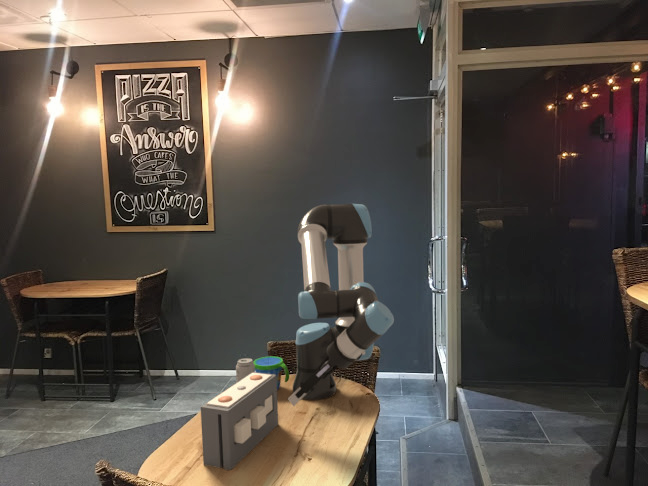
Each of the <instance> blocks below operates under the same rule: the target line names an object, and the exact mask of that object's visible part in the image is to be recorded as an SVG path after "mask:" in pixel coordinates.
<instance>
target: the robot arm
mask: <svg viewBox="0 0 648 486" xmlns="http://www.w3.org/2000/svg"><path fill="white" fill-rule="evenodd" d="M372 229H373V228H372V220H371V216H370V212H369V210H368V208H367V206H366V205H365V204H361V203H360V204H359V203H345V204H320V205H317V206H314V207H313V208H311V209H310V210H309V211H307V212H306V213H305V214H304V216H303V217H302V219H301V220H300V221H299V224H298V228H297V239H298V242H299V243H300V244H301V257H302V259H301V260H302V273H303V274H302V275H303V290H304V291H300V292H299V293H298V294H297V295H298V296H297V300H298V301H297V302H298V316H299V317H300V319H303V320H307V319H308V320H317V319H334V318H335V319H337V320H335V324H334V325H335V326H334V327H331V326H330V324H329V323H327V322H314V323H309V324H305V325H302V326H301V327H299V328H298V329H297V330H296V334H295V335H296V336H295V337H296V339H295V345H296V373H295V377H294V379H293V383H292V394H290V396H289V397H288V398H287V400H288V401H289V403H290V404H291V405H292V406H293V407H295V406H296V405H297V404H298V403H299V402H300V401H301V400H302V399H303V400H309V401H310V400H311V401H315V400H316V401H319V400H324V399H327V398H331V397H332V396H334V395H335V394H336V393H335V392H337V384H336V381H335V377H334V375H333V373H334V372H335V371H336V370H337V369H338V368H340V369H343V370H345V369H347V368H348V367H350V366H351V365H352V364H354V362H355V361H356V362H359V361H364V360H368V359H370V358H371V357H372V354H373V351H374V345H375V342H376V341H378V339H380V338H381V337H382V336H383V335H384V334H385V333H386V332H387V331H388V330H389V329H390V327H391V326H392V325H393V324H394V321H395V319H394V318H395V317H394V315H393V313H392V312H391V310H390V308H388V307H387V306H386V304H384V303H382V302H381V301H379V300H378V295H377V293H376V290H375V288H374V287H373V286H372V285H371V284H370V283H368V282H364V247H365V246H366V245H367V244H368V239H369V238H370V239H371V237H372V234H373V233H372V232H373V231H372ZM327 240H332V241H333V242H332V244H333V245H334V246H335V247H336V248H337V264H338V265H337V267H338V268H337V269H338V271H337V272H338V289H337V290H331V289H332V288H331V282H330V281H331V280H330V272H329V266H328V257H327V256H328V255H327V248H326V241H327ZM334 393H335V394H334ZM333 394H334V395H333Z"/></svg>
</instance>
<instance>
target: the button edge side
mask: <svg viewBox="0 0 648 486" xmlns="http://www.w3.org/2000/svg"><path fill="white" fill-rule="evenodd" d="M250 436H251V419H246V418H241V419H240V420H239V421H237V422H236V423H235V424H234V442H236V443H242V444H243V443H244V442H245V441H246V440H247V439H248V438H249V437H250Z"/></svg>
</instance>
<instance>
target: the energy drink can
mask: <svg viewBox="0 0 648 486" xmlns="http://www.w3.org/2000/svg"><path fill="white" fill-rule="evenodd" d="M253 362H254V361H253V359H252V358H249V357H244V358H240V359H238V360H237V362H236V363H237V364H236V365H235V372H236V383H237V382H238V381H240V380H241V379H243V378H244V377H246V376H247V375H249V374H250V373H252V372H255V365H254V363H253Z"/></svg>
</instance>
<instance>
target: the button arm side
mask: <svg viewBox="0 0 648 486" xmlns="http://www.w3.org/2000/svg"><path fill="white" fill-rule="evenodd" d="M264 402H265V408H266V415H267V414H268V413H269V412H270V411H271V410H272V409H273V406H272V395H270V396H268V397H267V398H266V399H265V400H264Z"/></svg>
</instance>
